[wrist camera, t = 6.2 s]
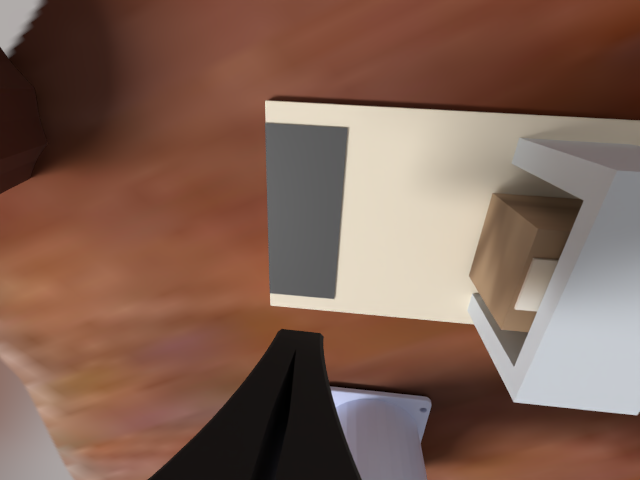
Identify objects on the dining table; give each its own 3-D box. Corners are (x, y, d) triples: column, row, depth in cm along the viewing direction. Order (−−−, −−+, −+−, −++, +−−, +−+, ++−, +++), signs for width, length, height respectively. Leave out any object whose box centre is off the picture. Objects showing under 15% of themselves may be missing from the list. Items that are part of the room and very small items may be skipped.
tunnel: (742, 343, 20) (920, 462, 13) (272, 300, 21) (239, 388, 15) (910, 135, 14) (1328, 174, 8) (267, 100, 16) (215, 111, 10)
